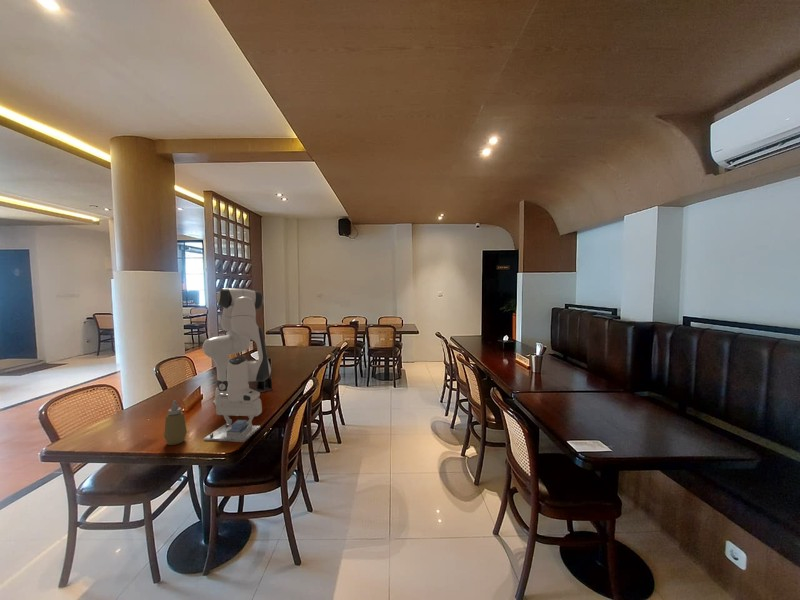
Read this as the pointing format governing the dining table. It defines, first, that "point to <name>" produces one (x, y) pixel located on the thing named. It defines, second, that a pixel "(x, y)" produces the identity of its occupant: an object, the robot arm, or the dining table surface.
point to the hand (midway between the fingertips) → (239, 424)
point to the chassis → (231, 434)
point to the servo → (239, 425)
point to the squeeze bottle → (175, 425)
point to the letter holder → (261, 385)
